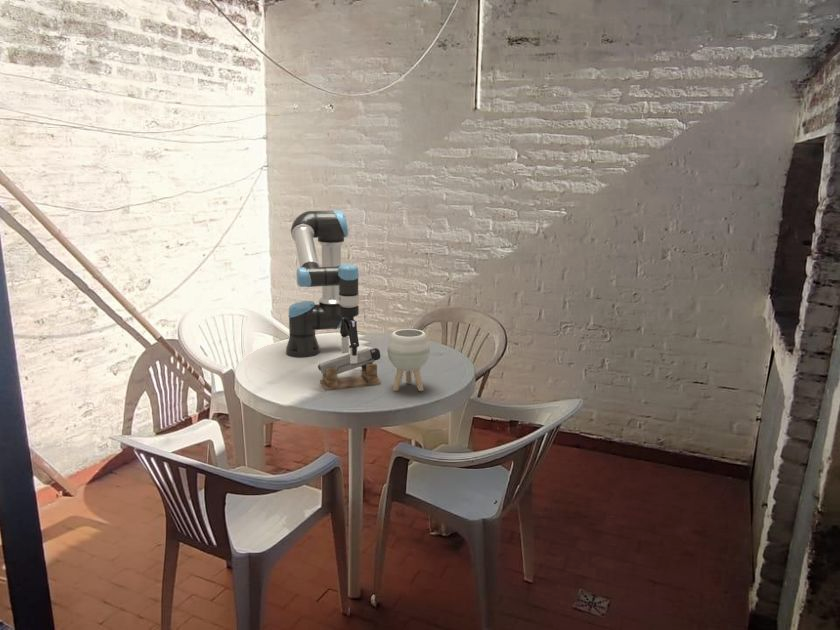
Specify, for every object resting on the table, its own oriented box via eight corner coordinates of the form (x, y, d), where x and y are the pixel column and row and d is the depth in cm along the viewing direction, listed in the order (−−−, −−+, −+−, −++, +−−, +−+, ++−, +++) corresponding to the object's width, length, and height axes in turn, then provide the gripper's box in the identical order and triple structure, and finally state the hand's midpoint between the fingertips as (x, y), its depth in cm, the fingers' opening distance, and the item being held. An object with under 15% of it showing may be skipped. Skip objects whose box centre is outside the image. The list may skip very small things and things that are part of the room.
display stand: (325, 390, 245) (324, 370, 243) (320, 382, 254) (319, 363, 252) (380, 384, 252) (380, 365, 250) (373, 376, 261) (373, 357, 259)
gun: (384, 369, 256) (379, 346, 253) (324, 389, 248) (318, 366, 245) (382, 367, 258) (377, 344, 255) (323, 387, 251) (316, 364, 248)
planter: (434, 393, 243) (435, 336, 238) (393, 397, 238) (393, 339, 233) (422, 380, 258) (422, 326, 253) (383, 383, 253) (383, 329, 248)
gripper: (332, 298, 256) (333, 349, 261) (347, 313, 233) (347, 368, 238) (350, 297, 258) (350, 347, 264) (367, 312, 236) (367, 366, 241)
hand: (349, 357), depth 251 cm, fingers open, 13 cm apart
